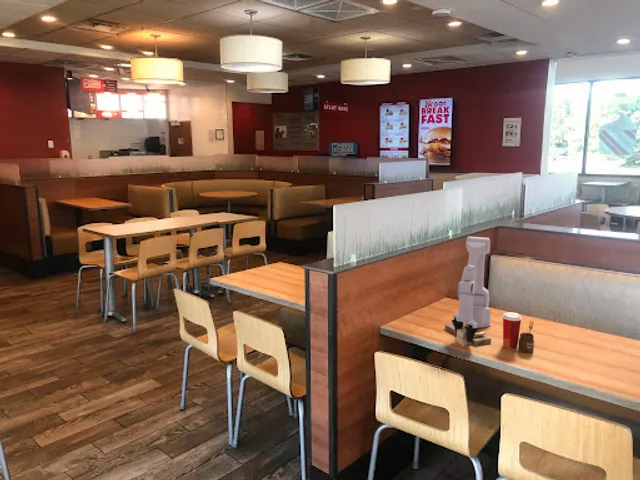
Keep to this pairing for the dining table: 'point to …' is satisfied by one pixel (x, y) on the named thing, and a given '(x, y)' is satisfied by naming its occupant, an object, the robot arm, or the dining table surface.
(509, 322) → the paper cup
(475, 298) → the robot arm
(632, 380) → the dining table surface
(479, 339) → the plank
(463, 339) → the wooden mallet
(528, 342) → the utensil holder
